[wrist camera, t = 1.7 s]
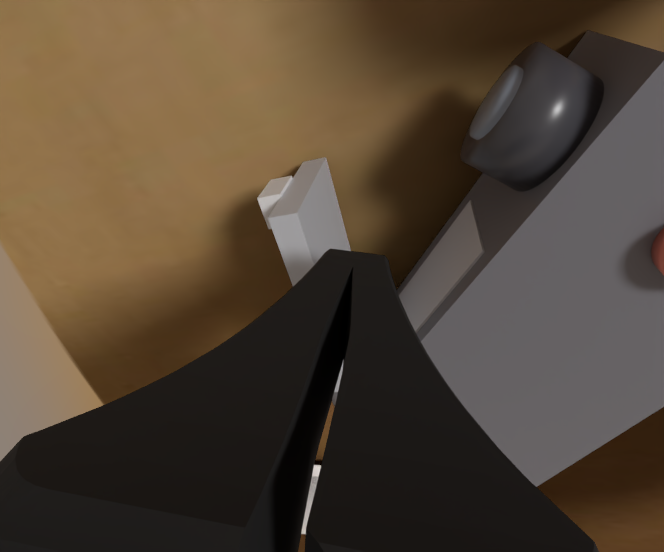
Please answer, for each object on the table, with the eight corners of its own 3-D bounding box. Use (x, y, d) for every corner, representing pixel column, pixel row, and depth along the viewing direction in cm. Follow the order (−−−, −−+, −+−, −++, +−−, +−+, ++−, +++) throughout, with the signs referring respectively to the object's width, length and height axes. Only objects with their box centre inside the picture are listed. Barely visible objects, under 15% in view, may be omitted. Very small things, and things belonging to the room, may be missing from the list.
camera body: (787, 152, 12) (979, 242, 8) (512, 388, 19) (539, 503, 15) (533, -4, 11) (601, 5, 7) (337, 303, 18) (312, 402, 14)
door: (375, 323, 18) (364, 411, 15) (339, 327, 19) (319, 412, 15) (329, 149, 15) (299, 208, 11) (285, 158, 15) (241, 218, 11)
